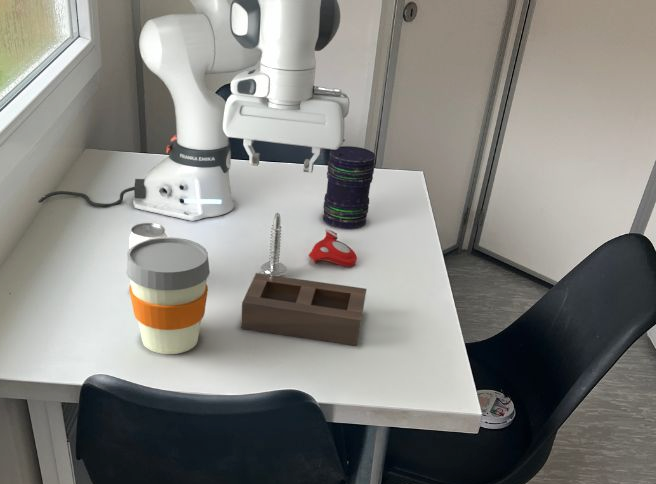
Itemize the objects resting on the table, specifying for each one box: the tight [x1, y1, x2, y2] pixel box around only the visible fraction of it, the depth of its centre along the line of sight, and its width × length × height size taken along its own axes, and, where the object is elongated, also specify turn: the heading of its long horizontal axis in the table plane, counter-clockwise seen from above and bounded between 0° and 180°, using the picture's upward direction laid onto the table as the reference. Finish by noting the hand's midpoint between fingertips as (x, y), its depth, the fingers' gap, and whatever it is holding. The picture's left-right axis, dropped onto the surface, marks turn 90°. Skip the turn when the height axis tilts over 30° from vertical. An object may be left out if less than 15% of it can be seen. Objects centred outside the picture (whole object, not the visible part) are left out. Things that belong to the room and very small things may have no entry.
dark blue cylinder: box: [322, 138, 376, 230], centre depth 157 cm, size 10×10×18 cm
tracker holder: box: [308, 228, 358, 267], centre depth 145 cm, size 12×4×10 cm
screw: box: [260, 212, 288, 277], centre depth 133 cm, size 13×5×5 cm
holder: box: [240, 272, 367, 347], centre depth 124 cm, size 11×20×5 cm, turn 79°
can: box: [129, 222, 168, 249], centre depth 127 cm, size 6×6×12 cm
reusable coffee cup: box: [126, 236, 210, 355], centre depth 113 cm, size 13×13×15 cm
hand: (281, 168), depth 125 cm, fingers open, 8 cm apart
